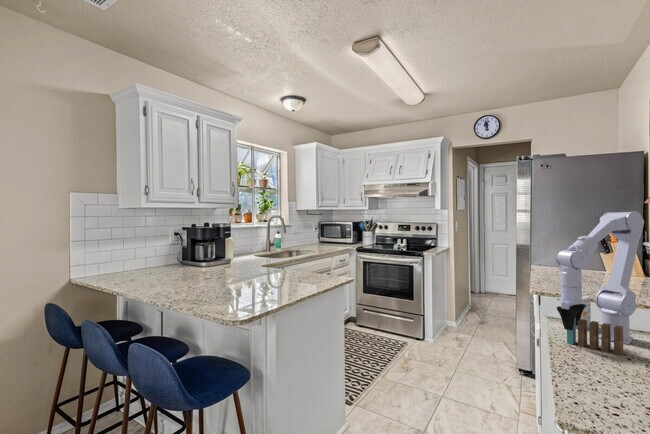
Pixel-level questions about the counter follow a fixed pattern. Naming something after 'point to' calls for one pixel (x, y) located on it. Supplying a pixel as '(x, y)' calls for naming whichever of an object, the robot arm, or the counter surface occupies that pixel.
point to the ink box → (586, 309)
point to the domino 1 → (571, 334)
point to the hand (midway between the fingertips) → (571, 327)
